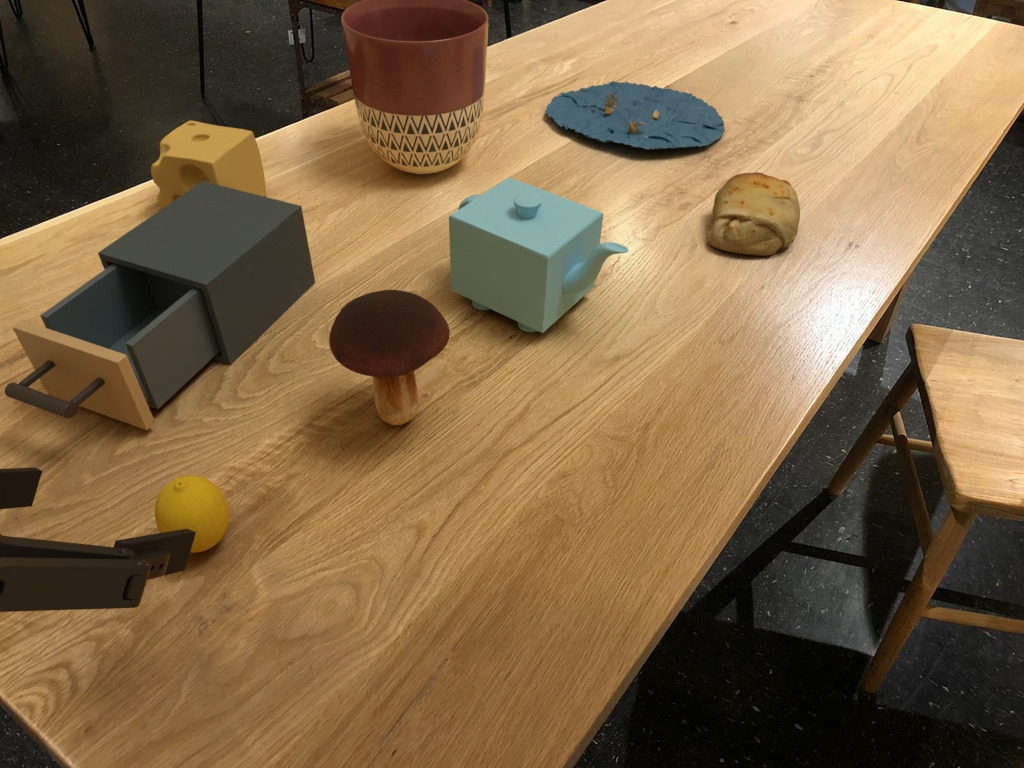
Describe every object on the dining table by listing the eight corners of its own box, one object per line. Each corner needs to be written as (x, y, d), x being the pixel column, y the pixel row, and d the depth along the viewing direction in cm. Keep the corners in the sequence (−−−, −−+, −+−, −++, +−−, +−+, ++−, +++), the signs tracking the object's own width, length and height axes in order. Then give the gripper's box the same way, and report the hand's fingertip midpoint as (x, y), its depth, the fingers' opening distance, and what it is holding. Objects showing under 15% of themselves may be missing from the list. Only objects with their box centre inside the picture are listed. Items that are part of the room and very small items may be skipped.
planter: (407, 211, 106) (396, 53, 92) (334, 159, 117) (313, 10, 102) (513, 170, 116) (518, 21, 101) (436, 125, 126) (431, -16, 112)
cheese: (162, 219, 103) (139, 150, 96) (208, 182, 111) (190, 115, 104) (230, 233, 101) (212, 163, 94) (272, 195, 109) (258, 127, 102)
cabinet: (230, 365, 82) (206, 284, 75) (129, 332, 86) (97, 252, 78) (315, 282, 94) (301, 205, 86) (223, 256, 97) (202, 180, 90)
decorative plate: (545, 89, 141) (546, 60, 138) (707, 94, 141) (712, 65, 137) (544, 157, 119) (545, 124, 116) (737, 163, 119) (744, 131, 115)
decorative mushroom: (376, 475, 72) (358, 354, 61) (324, 407, 78) (300, 287, 68) (473, 427, 77) (472, 307, 66) (417, 366, 83) (407, 249, 73)
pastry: (762, 202, 111) (777, 151, 105) (818, 247, 102) (837, 194, 97) (679, 220, 107) (690, 167, 101) (730, 268, 98) (745, 213, 93)
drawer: (109, 466, 70) (74, 398, 64) (7, 427, 74) (-35, 358, 68) (245, 337, 84) (227, 270, 78) (154, 308, 88) (130, 243, 82)
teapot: (433, 293, 93) (428, 191, 83) (488, 253, 99) (489, 153, 90) (588, 367, 84) (602, 261, 74) (637, 317, 90) (656, 214, 81)
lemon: (213, 578, 63) (188, 520, 58) (157, 559, 64) (126, 500, 59) (251, 527, 67) (230, 467, 62) (197, 509, 68) (172, 449, 63)
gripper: (-28, 579, 30) (272, 523, 50) (-417, 399, 36) (-11, 414, 57) (-82, 763, 30) (239, 632, 50) (-462, 550, 36) (-40, 511, 57)
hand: (107, 517), depth 54 cm, fingers open, 13 cm apart
